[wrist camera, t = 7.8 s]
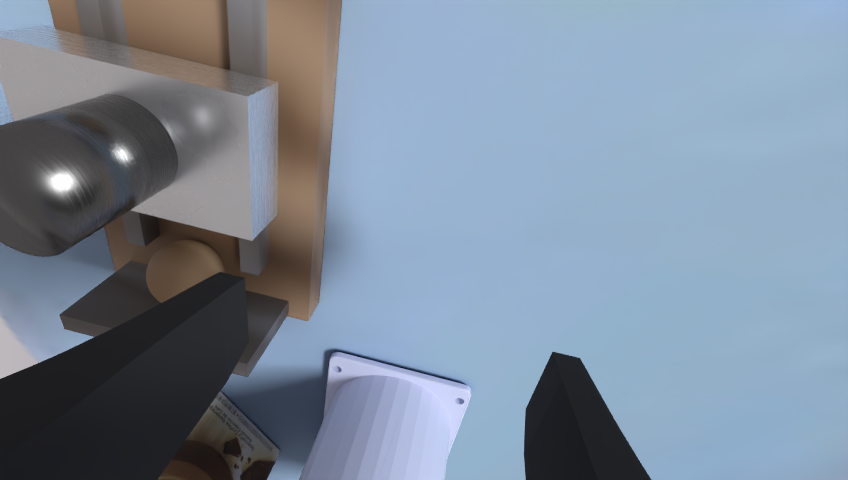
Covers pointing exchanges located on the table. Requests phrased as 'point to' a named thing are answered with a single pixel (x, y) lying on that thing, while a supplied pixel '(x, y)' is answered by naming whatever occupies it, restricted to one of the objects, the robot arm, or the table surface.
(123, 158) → the press carriage
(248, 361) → the nut press
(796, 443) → the table surface
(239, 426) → the coffee box
